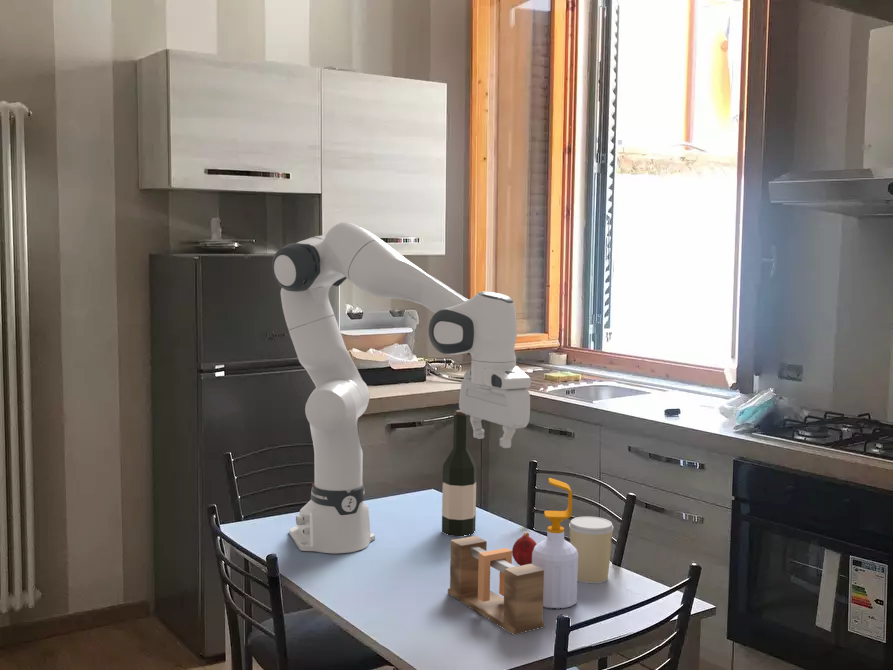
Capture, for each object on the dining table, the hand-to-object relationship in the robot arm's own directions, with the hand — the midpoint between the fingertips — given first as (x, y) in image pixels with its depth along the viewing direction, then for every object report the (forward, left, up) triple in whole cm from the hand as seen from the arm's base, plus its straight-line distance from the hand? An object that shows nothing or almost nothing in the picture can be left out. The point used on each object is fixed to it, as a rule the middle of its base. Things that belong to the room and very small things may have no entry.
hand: (491, 442), depth 189 cm
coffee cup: (+3, +24, -31) cm, 39 cm away
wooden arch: (+8, -4, -28) cm, 30 cm away
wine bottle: (-37, +16, -31) cm, 51 cm away
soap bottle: (+10, +9, -31) cm, 34 cm away
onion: (-8, +15, -31) cm, 36 cm away
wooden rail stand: (+8, -4, -31) cm, 32 cm away
